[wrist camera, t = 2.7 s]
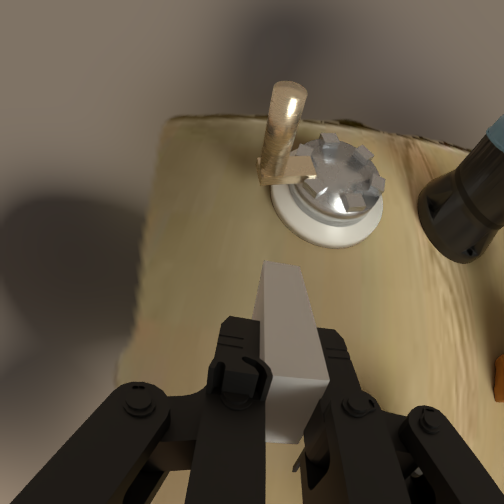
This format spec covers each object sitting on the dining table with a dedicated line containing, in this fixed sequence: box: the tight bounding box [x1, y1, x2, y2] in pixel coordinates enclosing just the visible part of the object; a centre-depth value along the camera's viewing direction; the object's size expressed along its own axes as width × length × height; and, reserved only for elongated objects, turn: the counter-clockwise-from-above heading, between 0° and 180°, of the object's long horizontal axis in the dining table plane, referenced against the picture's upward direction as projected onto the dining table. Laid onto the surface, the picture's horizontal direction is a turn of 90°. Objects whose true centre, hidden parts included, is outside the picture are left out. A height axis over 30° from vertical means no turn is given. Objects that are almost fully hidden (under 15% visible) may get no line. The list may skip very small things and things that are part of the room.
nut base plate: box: [271, 149, 383, 249], centre depth 40 cm, size 16×16×2 cm
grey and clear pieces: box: [256, 81, 385, 227], centre depth 32 cm, size 16×12×16 cm
